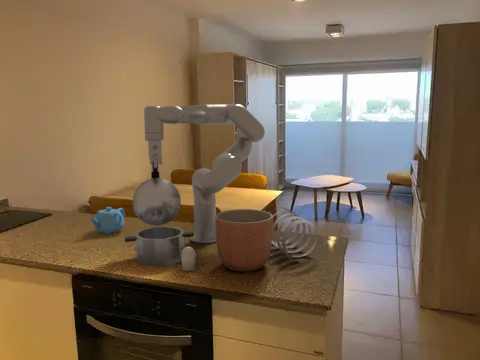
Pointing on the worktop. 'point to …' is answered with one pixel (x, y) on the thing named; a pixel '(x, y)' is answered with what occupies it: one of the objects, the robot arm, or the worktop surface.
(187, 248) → the salt cellar
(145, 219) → the lid
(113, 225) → the teapot
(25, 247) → the worktop surface
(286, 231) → the spring
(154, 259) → the pot
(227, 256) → the planter
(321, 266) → the worktop surface
